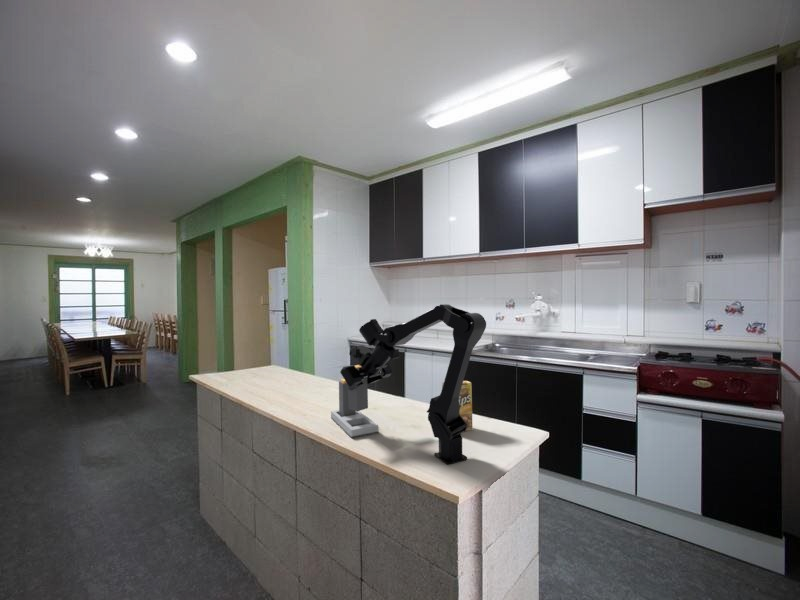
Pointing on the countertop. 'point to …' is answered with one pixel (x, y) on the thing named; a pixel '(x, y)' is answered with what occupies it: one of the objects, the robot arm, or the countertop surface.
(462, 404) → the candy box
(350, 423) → the light grey recessed block
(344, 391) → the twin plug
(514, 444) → the countertop surface
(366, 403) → the orange grey tall block
